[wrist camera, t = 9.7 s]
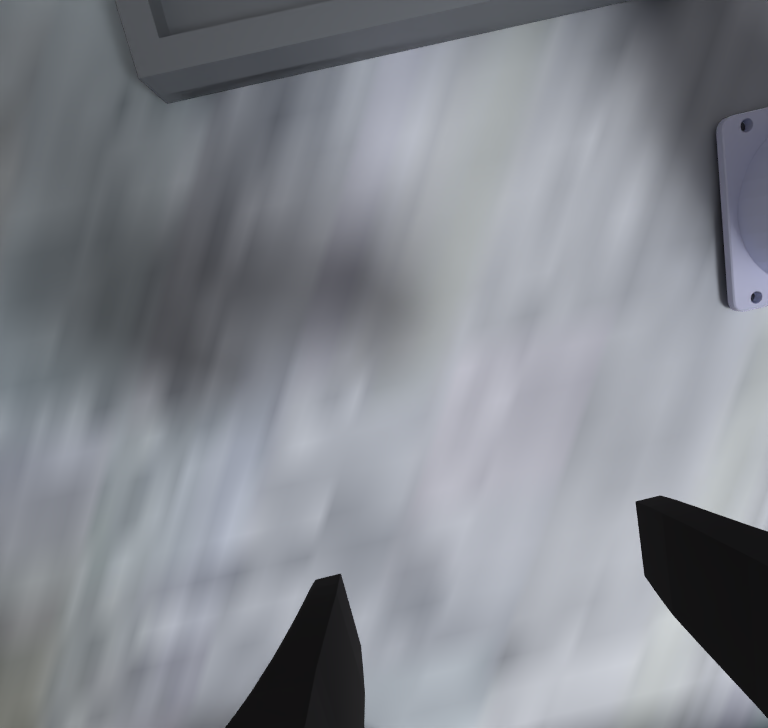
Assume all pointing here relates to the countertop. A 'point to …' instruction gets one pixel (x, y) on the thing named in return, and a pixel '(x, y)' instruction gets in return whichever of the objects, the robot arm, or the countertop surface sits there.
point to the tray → (300, 35)
